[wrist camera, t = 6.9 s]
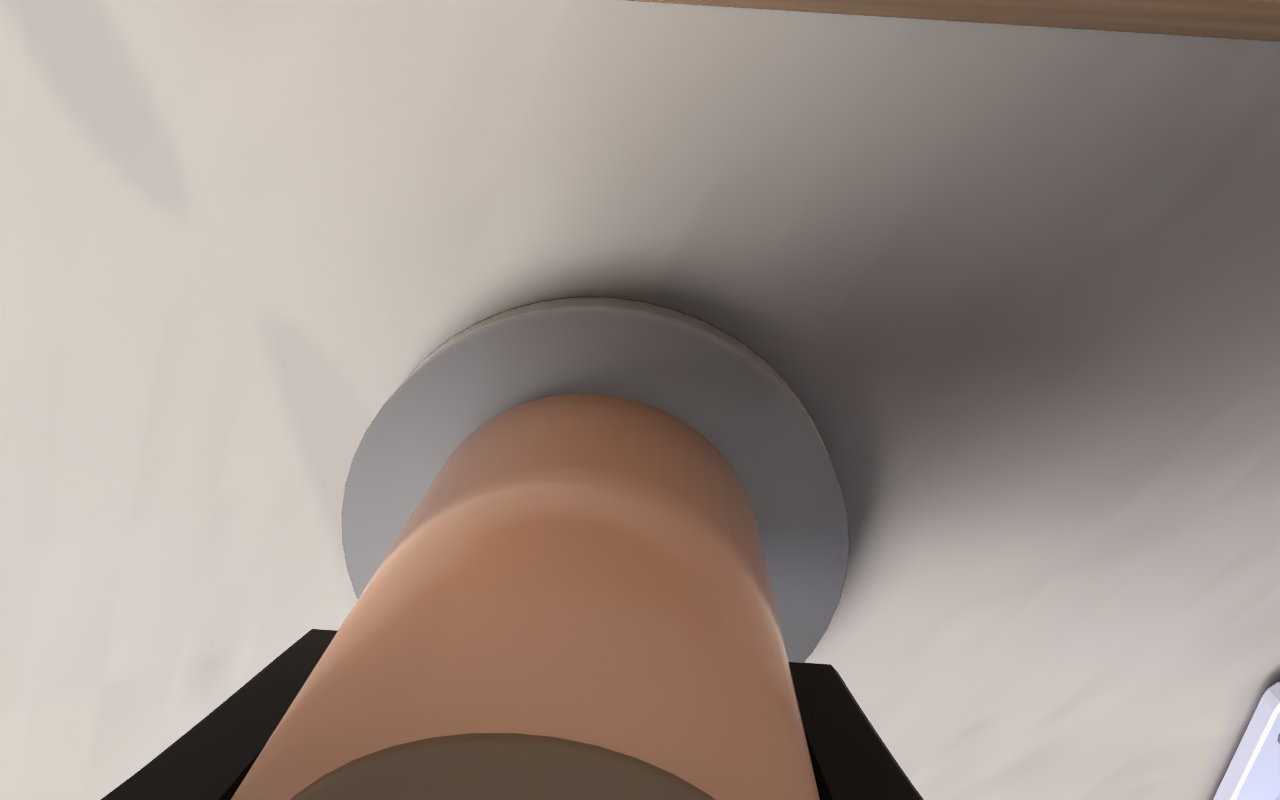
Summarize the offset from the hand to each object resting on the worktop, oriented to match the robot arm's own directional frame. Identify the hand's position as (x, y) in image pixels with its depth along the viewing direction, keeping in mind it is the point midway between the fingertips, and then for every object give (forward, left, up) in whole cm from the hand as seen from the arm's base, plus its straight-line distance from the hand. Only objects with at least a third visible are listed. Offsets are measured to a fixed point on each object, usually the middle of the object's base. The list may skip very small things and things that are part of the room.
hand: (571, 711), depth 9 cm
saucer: (0, 0, -4) cm, 4 cm away
